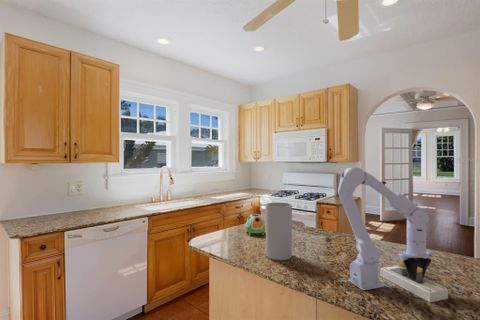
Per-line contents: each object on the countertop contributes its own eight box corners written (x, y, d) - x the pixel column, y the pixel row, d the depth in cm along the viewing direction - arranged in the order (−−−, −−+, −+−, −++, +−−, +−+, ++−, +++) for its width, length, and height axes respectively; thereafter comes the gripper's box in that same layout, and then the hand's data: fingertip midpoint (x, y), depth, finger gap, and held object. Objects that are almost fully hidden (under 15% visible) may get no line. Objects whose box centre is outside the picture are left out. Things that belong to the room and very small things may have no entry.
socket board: (447, 298, 85) (447, 287, 85) (429, 302, 83) (429, 290, 83) (396, 273, 105) (396, 264, 105) (380, 275, 102) (380, 266, 102)
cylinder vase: (260, 256, 123) (260, 204, 124) (275, 249, 133) (275, 201, 133) (282, 263, 115) (282, 207, 115) (296, 255, 124) (296, 204, 124)
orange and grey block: (407, 282, 93) (407, 266, 94) (414, 281, 94) (414, 265, 94) (415, 286, 90) (415, 269, 90) (422, 285, 91) (422, 268, 91)
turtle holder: (259, 228, 175) (259, 211, 175) (267, 236, 157) (267, 216, 157) (242, 229, 172) (242, 211, 172) (248, 237, 154) (248, 217, 154)
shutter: (412, 274, 96) (412, 267, 96) (402, 276, 95) (402, 269, 95) (400, 269, 101) (400, 262, 101) (390, 270, 100) (390, 263, 100)
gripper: (410, 245, 86) (410, 285, 86) (442, 241, 90) (442, 280, 90) (392, 239, 93) (392, 276, 93) (423, 236, 97) (423, 271, 97)
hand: (416, 277), depth 92 cm, fingers closed on orange and grey block, 3 cm apart
